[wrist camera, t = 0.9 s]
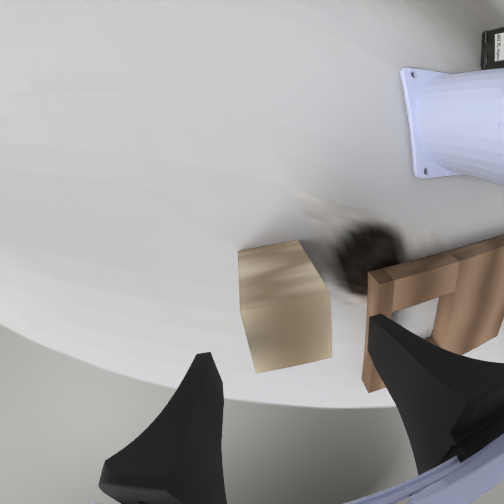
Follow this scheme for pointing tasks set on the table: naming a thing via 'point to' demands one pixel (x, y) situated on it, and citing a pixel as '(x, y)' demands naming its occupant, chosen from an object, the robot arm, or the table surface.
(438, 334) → the slotted walnut block
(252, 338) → the maple peg
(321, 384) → the table surface
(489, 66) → the ink cartridge
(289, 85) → the table surface
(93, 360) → the table surface
